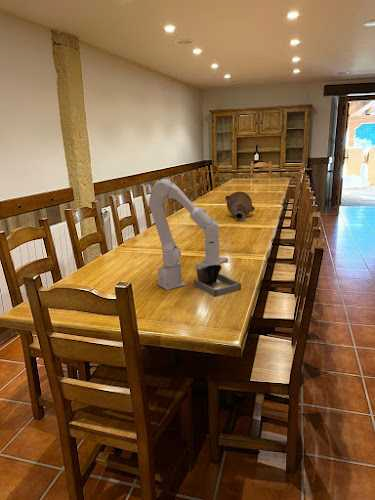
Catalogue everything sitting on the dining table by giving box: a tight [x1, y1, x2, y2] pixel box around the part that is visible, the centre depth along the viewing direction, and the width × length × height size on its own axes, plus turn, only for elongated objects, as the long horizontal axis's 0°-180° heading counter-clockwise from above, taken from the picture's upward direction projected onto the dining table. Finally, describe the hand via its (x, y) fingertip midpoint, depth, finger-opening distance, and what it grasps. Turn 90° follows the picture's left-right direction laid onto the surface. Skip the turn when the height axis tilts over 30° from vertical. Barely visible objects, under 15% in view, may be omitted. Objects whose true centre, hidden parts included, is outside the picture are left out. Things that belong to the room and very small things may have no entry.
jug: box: [224, 191, 255, 223], centre depth 284 cm, size 20×20×30 cm
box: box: [195, 265, 210, 283], centre depth 160 cm, size 6×6×7 cm
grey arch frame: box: [193, 273, 242, 297], centre depth 154 cm, size 13×15×2 cm
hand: (213, 282), depth 156 cm, fingers closed, pressing on box
